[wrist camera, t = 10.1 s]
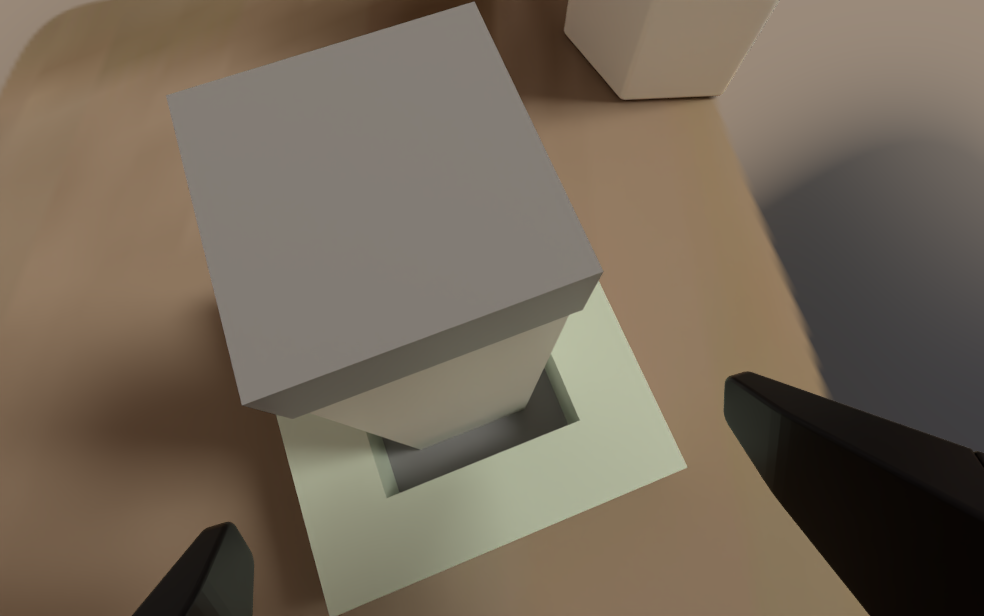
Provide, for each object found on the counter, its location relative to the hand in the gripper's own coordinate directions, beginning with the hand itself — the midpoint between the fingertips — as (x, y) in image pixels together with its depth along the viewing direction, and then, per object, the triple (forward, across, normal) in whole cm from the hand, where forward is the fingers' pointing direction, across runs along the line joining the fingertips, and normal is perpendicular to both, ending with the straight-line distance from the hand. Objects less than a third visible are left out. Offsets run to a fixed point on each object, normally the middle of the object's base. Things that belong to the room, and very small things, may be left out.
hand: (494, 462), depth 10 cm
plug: (+9, 0, +5) cm, 10 cm away
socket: (+10, 0, +5) cm, 11 cm away
